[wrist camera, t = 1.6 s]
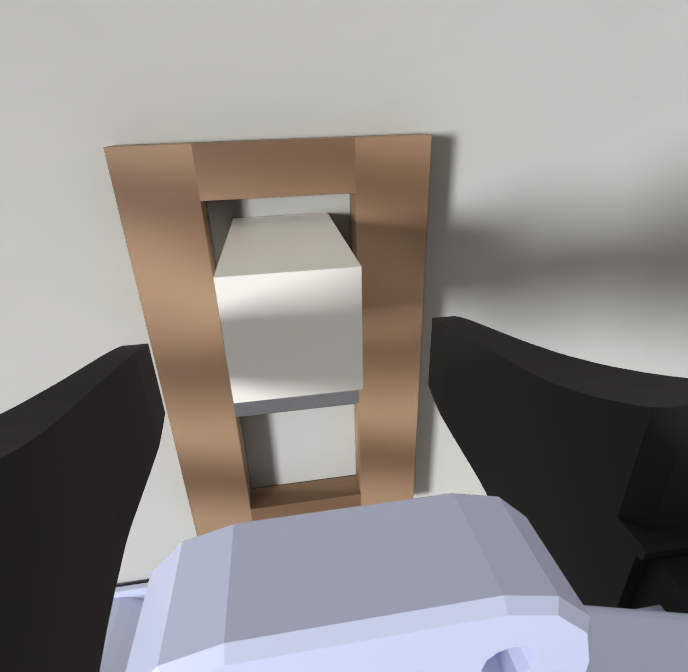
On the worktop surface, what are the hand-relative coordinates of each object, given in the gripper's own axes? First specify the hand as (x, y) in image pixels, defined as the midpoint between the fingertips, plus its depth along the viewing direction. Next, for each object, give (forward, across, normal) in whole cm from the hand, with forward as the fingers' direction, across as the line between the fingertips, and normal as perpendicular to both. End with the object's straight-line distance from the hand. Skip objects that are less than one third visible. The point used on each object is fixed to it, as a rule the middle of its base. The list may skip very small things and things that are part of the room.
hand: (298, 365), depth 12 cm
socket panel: (+10, 0, +5) cm, 11 cm away
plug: (+10, 0, 0) cm, 10 cm away
